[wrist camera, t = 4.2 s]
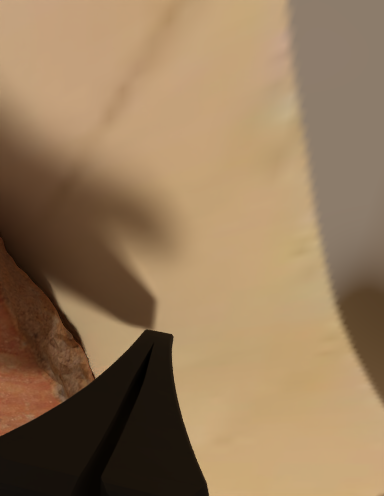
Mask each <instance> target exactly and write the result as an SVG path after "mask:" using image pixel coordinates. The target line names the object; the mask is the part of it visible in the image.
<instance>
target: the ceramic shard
mask: <svg viewBox="0 0 384 496" xmlns="http://www.w3.org/2000/svg"><path fill="white" fill-rule="evenodd" d="M93 380H95V379H94V378H93V376H92V371H91V369H90V367H89V363H88V360H87V358H86V355H85V353H84V351H83V349H82V348H81V346H80V344H78V343H77V342H76V341H75V340H74V339H73V336H72V334H71V333H70V332H69V331H68V330H67V329H66V328H65V327H64V326H63V324H62V321H61V319H60V317H59V315H58V312H57V310H56V309H55V307H54V306H53V304H52V303H51V301H50V300H49V298H48V297H47V296H46V295H45V294H44V293H43V291H42V290H41V289H40V288H39V287H38V286H36V285H35V284H34V282H33V281H32V280H31V279H30V278H29V276H28V275H27V274H26V273H25V272H24V271H22V270H21V269H20V268H19V267H17V266H16V263H15V262H14V260H13V259H12V257H11V256H10V255H9V254H8V253H7V252H6V249H5V247H4V242H3V240H2V238H1V236H0V436H1V435H4V434H6V433H8V432H10V431H12V430H14V429H16V428H18V427H20V426H22V425H24V424H26V423H28V422H30V421H31V420H33V419H35V418H37V417H39V416H40V415H42V414H44V413H45V412H47V411H49V410H51V409H52V408H54V407H56V406H57V405H59V404H61V403H62V402H64V401H65V400H67V399H68V398H70V397H71V396H73V395H74V394H76V393H77V392H79V391H80V390H81V389H83V388H84V387H86V386H87V385H88V384H90V383H91V382H92V381H93Z"/></svg>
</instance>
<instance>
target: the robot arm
mask: <svg viewBox="0 0 384 496" xmlns="http://www.w3.org/2000/svg"><path fill="white" fill-rule="evenodd" d="M172 344H173V335H172V334H168V333H163V332H157V331H152V330H145V331H144V332H143V333H142V334H141V336H140V337H139V338H138V339H137V340H136V341H135V342H134V344H133V345H132V346H131V347H130V348H129V349H128V350H127V351H126V352H125V353H124V354H123V355H122V356H121V357H120V358H119V359H118V360H117V361H116V362H115V363H113V364H112V365H111V366H110V367H109V368H108V369H107V370H106V371H104V372H103V373H102V374H101V375H100V376H98V377H97V378H96V379H95V380H93V381H92V382H91V383H90V384H88V385H87V386H86V387H84V388H83V389H81V390H80V391H79V392H77V393H76V394H74V395H73V396H71V397H70V398H68V399H67V400H65V401H64V402H62V403H61V404H59V405H57V406H56V407H54V408H52V409H51V410H49V411H47V412H45V413H44V414H42V415H40V416H39V417H37V418H35V419H33V420H31V421H30V422H28V423H26V424H24V425H22V426H20V427H18V428H16V429H14V430H12V431H10V432H8V433H6V434H4V435H1V436H0V496H209V493H208V488H207V483H206V480H205V478H204V476H203V474H202V471H201V469H200V467H199V464H198V462H197V459H196V457H195V454H194V451H193V449H192V446H191V444H190V441H189V437H188V434H187V431H186V428H185V425H184V422H183V419H182V415H181V411H180V407H179V403H178V399H177V394H176V389H175V383H174V376H173V367H172Z"/></svg>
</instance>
